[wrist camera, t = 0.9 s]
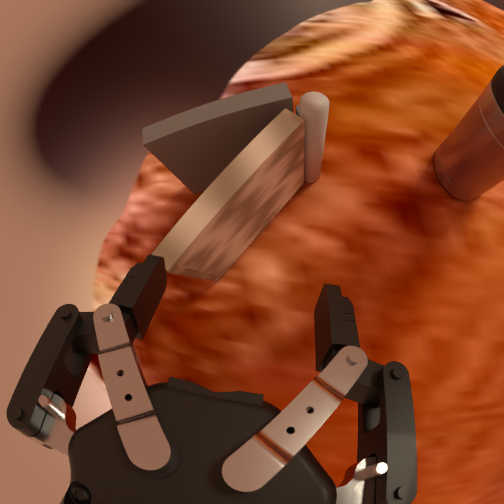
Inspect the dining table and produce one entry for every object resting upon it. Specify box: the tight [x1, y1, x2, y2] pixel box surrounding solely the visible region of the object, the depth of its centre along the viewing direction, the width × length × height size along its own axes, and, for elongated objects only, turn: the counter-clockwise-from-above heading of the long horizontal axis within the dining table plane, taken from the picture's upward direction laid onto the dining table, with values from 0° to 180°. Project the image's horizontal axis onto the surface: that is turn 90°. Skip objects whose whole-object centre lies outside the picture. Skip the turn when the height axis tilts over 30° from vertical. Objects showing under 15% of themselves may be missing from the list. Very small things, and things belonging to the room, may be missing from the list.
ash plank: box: [152, 108, 305, 281], centre depth 28 cm, size 16×2×14 cm, turn 138°
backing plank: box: [143, 83, 329, 194], centre depth 28 cm, size 17×5×15 cm, turn 103°
